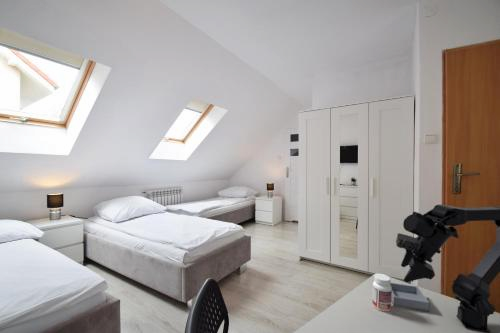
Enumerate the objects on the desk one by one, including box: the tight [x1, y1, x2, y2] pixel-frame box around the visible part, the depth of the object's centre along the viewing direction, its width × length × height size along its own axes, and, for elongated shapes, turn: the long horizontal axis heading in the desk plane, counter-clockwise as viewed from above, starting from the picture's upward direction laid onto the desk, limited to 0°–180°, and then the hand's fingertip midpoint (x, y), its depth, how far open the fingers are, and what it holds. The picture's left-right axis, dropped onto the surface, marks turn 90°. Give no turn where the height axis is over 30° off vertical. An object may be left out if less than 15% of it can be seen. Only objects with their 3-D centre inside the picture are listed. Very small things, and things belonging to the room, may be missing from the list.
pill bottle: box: [371, 273, 392, 312], centre depth 89 cm, size 6×6×11 cm
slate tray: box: [390, 282, 430, 313], centre depth 93 cm, size 11×11×4 cm
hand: (403, 273), depth 85 cm, fingers open, 9 cm apart
